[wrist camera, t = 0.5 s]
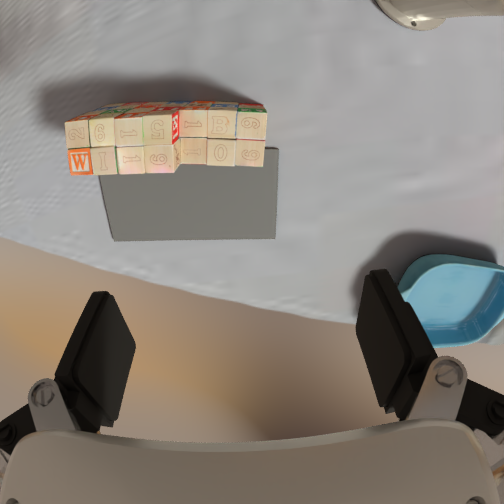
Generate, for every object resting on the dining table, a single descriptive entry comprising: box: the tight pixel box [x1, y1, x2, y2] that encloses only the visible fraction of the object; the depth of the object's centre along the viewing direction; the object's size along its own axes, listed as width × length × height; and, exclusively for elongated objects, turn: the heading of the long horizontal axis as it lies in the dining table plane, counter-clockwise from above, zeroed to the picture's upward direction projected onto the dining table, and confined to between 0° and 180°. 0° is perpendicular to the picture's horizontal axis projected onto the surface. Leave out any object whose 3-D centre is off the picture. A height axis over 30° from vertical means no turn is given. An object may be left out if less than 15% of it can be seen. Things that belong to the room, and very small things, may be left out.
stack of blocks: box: [65, 101, 267, 176], centre depth 33 cm, size 21×6×12 cm, turn 86°
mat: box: [99, 148, 279, 241], centre depth 44 cm, size 14×26×1 cm, turn 90°
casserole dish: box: [397, 254, 504, 348], centre depth 53 cm, size 37×22×7 cm, turn 82°
